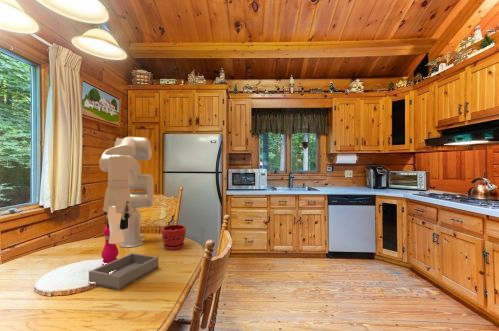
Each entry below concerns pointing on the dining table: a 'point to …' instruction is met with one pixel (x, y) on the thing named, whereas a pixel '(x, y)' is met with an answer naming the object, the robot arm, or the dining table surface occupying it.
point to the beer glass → (115, 226)
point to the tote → (123, 271)
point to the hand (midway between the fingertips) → (117, 227)
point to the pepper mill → (109, 248)
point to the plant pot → (173, 236)
